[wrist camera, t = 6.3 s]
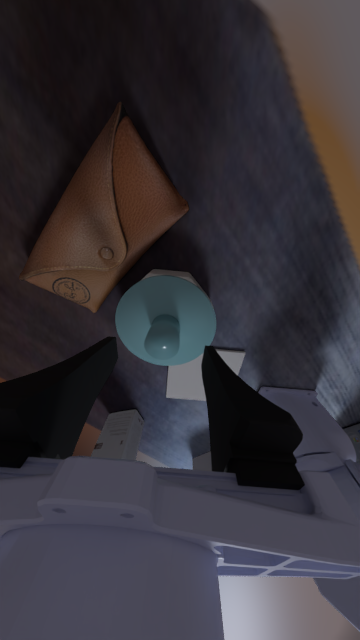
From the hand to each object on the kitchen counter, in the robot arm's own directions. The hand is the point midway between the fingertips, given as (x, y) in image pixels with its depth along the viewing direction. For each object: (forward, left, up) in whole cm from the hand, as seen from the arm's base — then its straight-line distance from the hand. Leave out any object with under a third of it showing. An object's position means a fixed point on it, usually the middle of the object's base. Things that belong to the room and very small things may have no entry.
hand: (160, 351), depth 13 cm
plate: (-6, +11, -9) cm, 15 cm away
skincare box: (+7, +24, -9) cm, 26 cm away
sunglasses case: (+7, -8, -9) cm, 14 cm away
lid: (0, 0, -6) cm, 6 cm away
